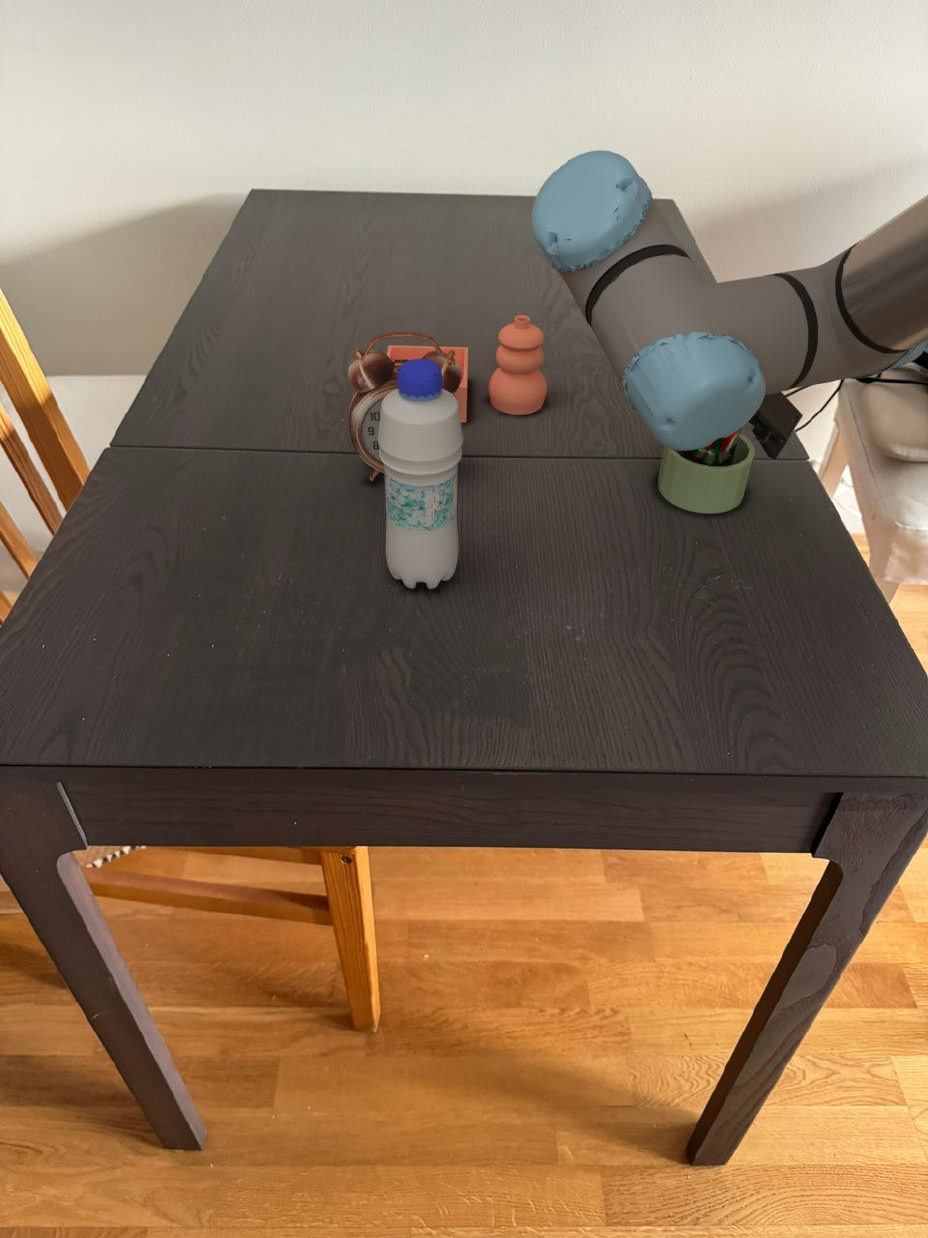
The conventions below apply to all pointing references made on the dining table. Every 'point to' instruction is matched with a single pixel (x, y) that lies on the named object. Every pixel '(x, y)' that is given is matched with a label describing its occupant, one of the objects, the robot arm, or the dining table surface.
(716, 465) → the soda can
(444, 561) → the bottle
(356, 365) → the alarm clock
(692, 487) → the cup
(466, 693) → the dining table surface
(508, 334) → the pottery
